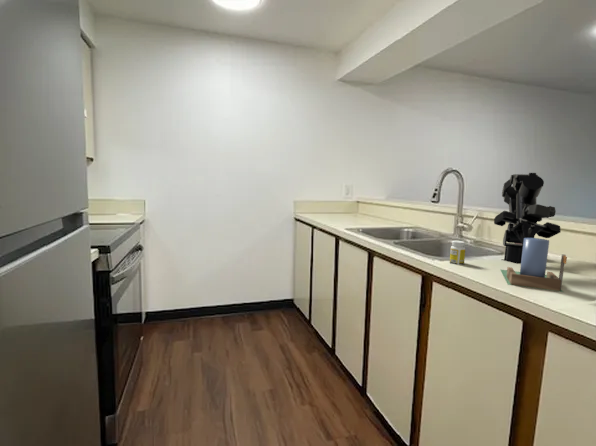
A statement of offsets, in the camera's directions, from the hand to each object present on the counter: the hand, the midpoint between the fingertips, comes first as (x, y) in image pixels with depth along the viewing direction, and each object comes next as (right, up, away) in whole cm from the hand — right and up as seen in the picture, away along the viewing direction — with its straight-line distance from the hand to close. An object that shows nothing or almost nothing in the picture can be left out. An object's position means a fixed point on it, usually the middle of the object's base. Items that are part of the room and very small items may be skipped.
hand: (526, 247), depth 110 cm
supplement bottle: (-17, -7, +13) cm, 22 cm away
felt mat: (-4, -10, -6) cm, 12 cm away
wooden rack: (-6, -10, -11) cm, 16 cm away
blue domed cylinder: (-6, -10, -10) cm, 15 cm away
